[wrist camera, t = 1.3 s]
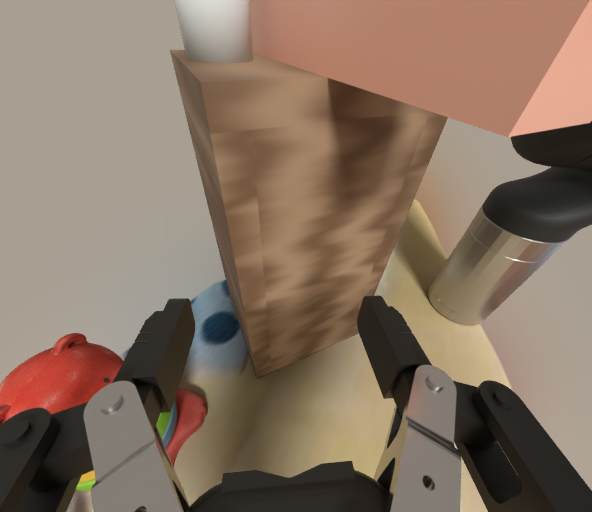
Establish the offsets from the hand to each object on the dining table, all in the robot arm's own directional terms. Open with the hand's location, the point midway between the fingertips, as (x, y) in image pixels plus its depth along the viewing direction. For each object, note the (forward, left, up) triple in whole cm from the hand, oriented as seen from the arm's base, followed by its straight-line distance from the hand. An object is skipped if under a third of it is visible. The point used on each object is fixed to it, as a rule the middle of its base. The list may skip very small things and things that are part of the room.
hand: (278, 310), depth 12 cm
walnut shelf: (-7, -13, -24) cm, 29 cm away
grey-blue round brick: (-2, -14, +8) cm, 17 cm away
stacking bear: (+14, -5, -24) cm, 28 cm away
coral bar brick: (-7, -9, +8) cm, 14 cm away
